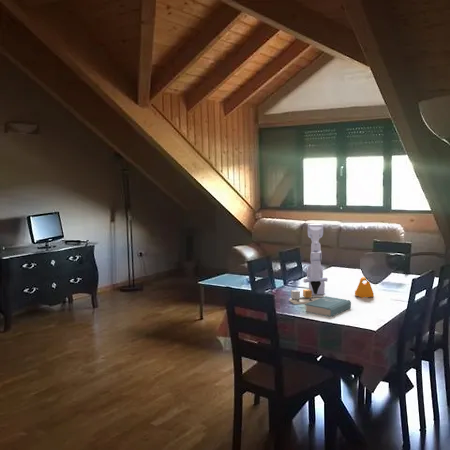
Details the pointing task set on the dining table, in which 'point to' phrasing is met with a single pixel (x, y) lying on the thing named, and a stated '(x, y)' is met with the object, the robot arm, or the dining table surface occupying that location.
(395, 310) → the dining table surface
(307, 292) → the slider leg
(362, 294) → the bracket
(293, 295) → the pitch plate
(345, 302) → the book
